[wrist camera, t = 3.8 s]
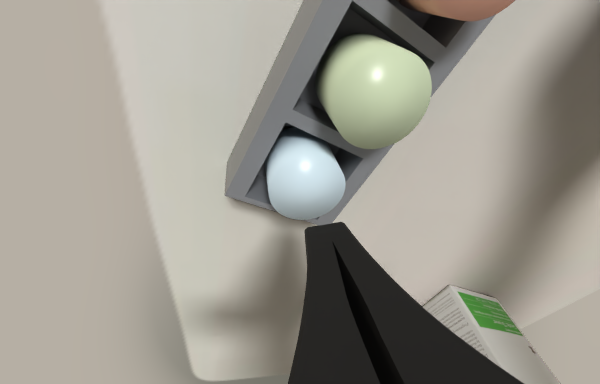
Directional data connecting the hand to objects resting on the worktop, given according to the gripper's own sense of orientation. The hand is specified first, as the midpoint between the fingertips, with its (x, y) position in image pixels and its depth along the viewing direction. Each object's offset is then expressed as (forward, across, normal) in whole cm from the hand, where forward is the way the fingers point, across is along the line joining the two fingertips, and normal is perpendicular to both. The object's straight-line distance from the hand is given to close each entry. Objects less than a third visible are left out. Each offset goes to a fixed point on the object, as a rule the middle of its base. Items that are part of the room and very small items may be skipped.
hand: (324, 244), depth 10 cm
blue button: (+6, 0, 0) cm, 6 cm away
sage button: (+5, -3, -4) cm, 7 cm away
